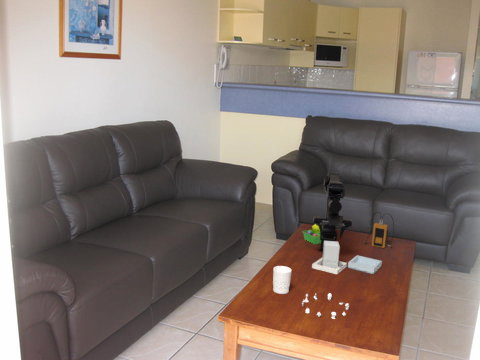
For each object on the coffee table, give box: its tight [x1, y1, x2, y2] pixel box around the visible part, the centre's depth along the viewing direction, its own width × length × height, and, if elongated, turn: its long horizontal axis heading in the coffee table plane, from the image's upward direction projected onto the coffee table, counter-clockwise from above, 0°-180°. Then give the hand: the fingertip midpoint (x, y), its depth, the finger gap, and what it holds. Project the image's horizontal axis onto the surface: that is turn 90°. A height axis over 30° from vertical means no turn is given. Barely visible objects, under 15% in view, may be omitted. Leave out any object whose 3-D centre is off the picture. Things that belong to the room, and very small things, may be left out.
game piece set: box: [301, 292, 350, 320], centre depth 215 cm, size 19×20×4 cm
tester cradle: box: [311, 257, 348, 275], centre depth 261 cm, size 13×13×3 cm
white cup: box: [272, 265, 293, 295], centre depth 229 cm, size 8×8×10 cm
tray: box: [347, 254, 383, 275], centre depth 264 cm, size 13×13×3 cm
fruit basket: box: [302, 224, 321, 245], centre depth 299 cm, size 11×9×11 cm
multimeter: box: [364, 211, 395, 249], centre depth 299 cm, size 15×10×20 cm
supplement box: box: [321, 241, 341, 269], centre depth 260 cm, size 7×7×13 cm
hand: (330, 237), depth 265 cm, fingers open, 9 cm apart
